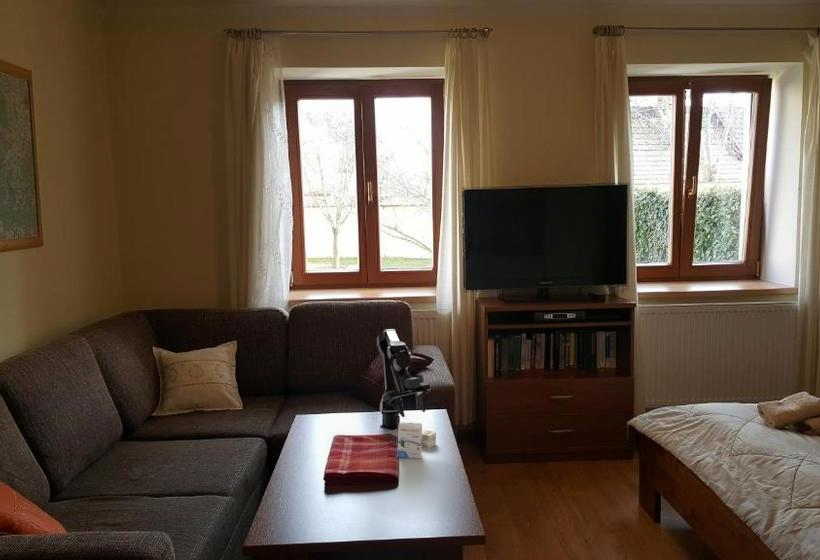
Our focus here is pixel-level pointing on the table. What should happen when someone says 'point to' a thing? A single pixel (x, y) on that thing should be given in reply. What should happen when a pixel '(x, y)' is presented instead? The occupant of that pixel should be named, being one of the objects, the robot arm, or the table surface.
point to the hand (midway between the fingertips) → (414, 414)
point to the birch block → (428, 438)
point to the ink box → (409, 440)
